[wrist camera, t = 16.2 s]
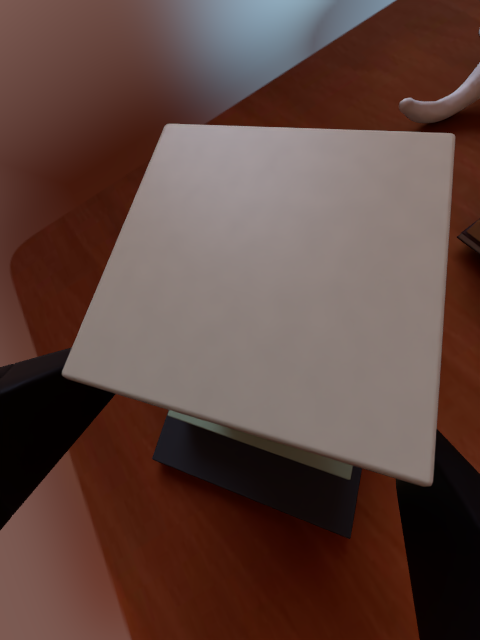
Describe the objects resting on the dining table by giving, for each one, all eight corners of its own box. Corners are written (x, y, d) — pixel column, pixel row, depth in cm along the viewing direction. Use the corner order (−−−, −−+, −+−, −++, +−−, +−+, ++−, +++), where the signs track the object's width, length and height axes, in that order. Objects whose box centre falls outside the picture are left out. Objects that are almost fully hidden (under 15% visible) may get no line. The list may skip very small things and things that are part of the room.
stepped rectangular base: (345, 529, 15) (367, 575, 11) (159, 455, 18) (123, 471, 14) (388, 277, 19) (415, 244, 15) (229, 248, 21) (216, 214, 18)
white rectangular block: (313, 417, 16) (436, 492, 3) (228, 394, 17) (57, 376, 4) (328, 332, 17) (458, 130, 4) (248, 316, 18) (164, 121, 6)
